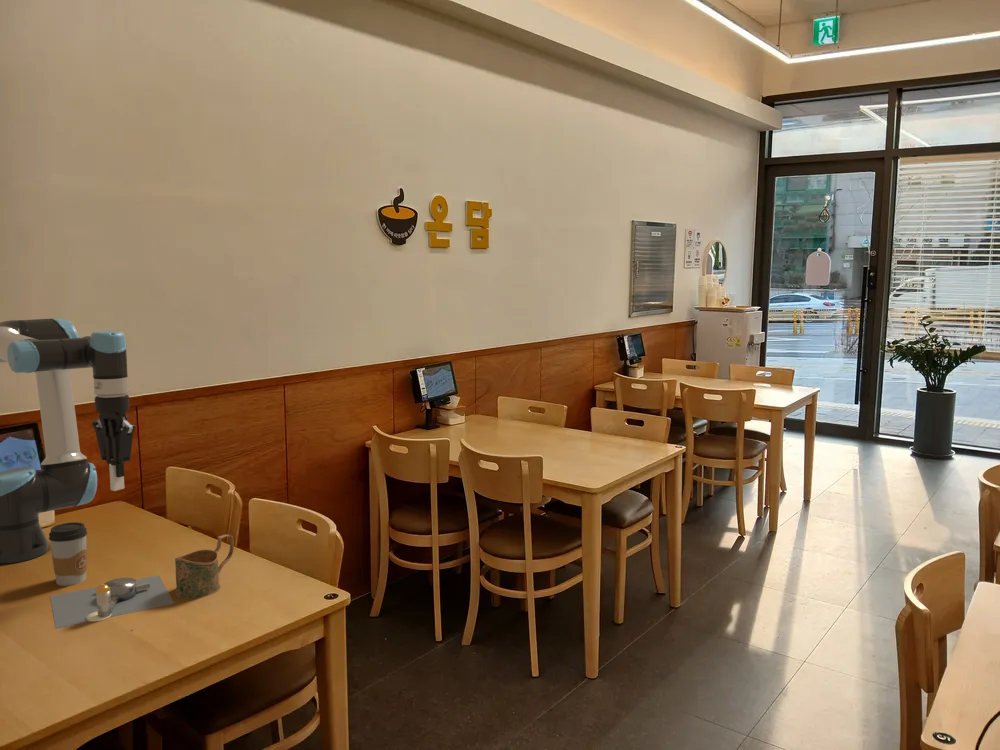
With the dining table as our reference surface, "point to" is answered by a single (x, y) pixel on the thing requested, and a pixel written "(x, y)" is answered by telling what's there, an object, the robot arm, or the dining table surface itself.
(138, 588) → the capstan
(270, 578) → the dining table surface
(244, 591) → the dining table surface
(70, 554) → the coffee cup
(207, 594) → the mug
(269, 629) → the dining table surface
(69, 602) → the stand plate
